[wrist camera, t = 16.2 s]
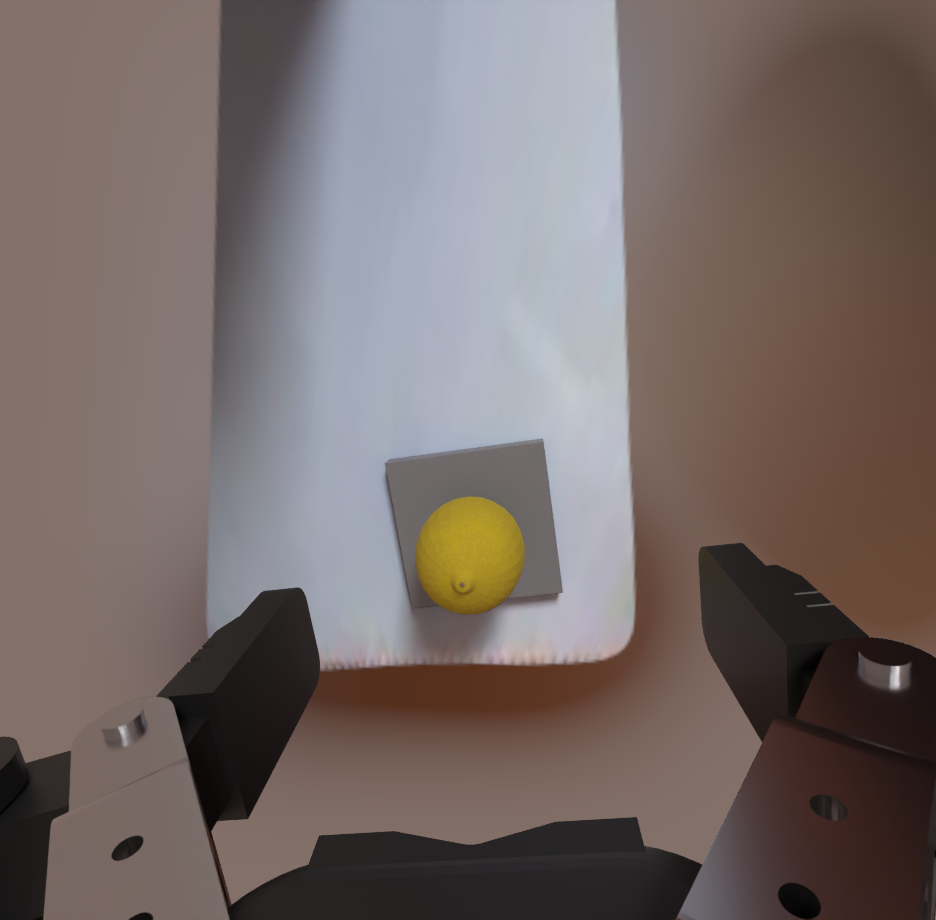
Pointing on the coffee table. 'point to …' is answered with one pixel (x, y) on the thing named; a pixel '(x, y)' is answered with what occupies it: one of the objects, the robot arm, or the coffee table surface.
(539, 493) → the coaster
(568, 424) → the coffee table surface
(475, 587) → the lemon
